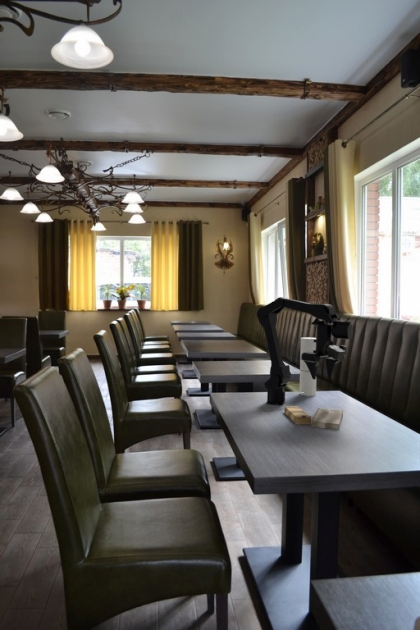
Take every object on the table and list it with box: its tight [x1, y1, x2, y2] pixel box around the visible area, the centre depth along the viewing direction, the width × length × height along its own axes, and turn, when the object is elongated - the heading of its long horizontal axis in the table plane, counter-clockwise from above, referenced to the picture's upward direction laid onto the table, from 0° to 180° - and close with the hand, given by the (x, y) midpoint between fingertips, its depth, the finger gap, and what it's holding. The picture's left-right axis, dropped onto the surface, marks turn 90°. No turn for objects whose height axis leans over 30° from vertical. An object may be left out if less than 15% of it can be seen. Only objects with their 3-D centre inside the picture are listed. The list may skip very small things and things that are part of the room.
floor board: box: [310, 407, 344, 430], centre depth 165 cm, size 9×20×2 cm, turn 161°
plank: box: [283, 405, 312, 425], centre depth 167 cm, size 17×5×3 cm, turn 6°
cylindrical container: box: [299, 336, 317, 397], centre depth 208 cm, size 7×7×25 cm
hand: (322, 378), depth 179 cm, fingers open, 9 cm apart
